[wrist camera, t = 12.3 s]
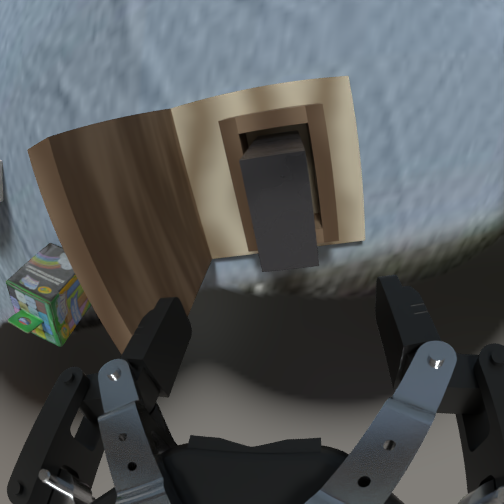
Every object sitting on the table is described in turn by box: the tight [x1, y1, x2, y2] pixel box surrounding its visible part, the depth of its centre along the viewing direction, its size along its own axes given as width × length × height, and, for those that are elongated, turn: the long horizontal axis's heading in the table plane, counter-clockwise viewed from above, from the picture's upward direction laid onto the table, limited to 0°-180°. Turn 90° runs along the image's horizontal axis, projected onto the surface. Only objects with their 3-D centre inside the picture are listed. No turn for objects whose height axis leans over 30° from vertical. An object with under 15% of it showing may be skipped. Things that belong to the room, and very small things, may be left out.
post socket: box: [28, 76, 365, 354], centre depth 22 cm, size 20×18×19 cm
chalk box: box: [6, 243, 91, 346], centre depth 35 cm, size 9×9×15 cm
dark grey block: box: [239, 130, 319, 272], centre depth 24 cm, size 4×8×12 cm, turn 11°
